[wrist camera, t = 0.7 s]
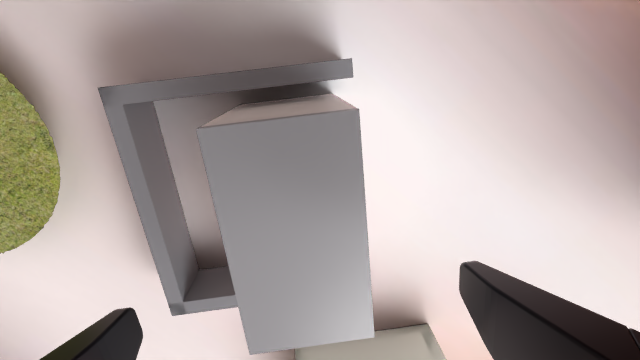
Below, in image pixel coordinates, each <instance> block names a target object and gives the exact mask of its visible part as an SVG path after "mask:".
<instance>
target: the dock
mask: <svg viewBox="0 0 640 360" xmlns="http://www.w3.org/2000/svg"><path fill="white" fill-rule="evenodd" d="M352 77H353V67H352V58H350V59H341V60H333V61H324V62H316V63H307V64H298V65H290V66H281V67H272V68H264V69H255V70H247V71H238V72H229V73H221V74H212V75H203V76H195V77H186V78H178V79H169V80H160V81H152V82H143V83H134V84H126V85H117V86H109V87H100V88H98V90H99V93H100V96H101V99H102V102H103V106H104V109H105V112H106V115H107V118H108V121H109V124H110V127H111V130H112V133H113V136H114V139H115V142H116V145H117V148H118V152H119V155H120V158H121V161H122V164H123V167H124V170H125V173H126V176H127V179H128V182H129V185H130V188H131V191H132V194H133V198H134V201H135V204H136V207H137V210H138V213H139V216H140V219H141V222H142V225H143V228H144V231H145V234H146V237H147V240H148V244H149V247H150V250H151V253H152V256H153V259H154V262H155V265H156V268H157V271H158V274H159V277H160V280H161V283H162V286H163V290H164V293H165V296H166V299H167V302H168V305H169V308H170V311H171V314H172V316H175V315H183V314H190V313H197V312H205V311H212V310H219V309H227V308H234V307H238V303H237V299H236V295H235V291H234V286H233V282H232V278H231V274H230V270H229V266H225V267H217V268H210V269H202V270H199V267H198V264H197V260H196V257H195V253H194V249H193V246H192V242H191V238H190V235H189V231H188V227H187V224H186V220H185V217H184V213H183V209H182V206H181V202H180V198H179V195H178V191H177V187H176V184H175V180H174V177H173V173H172V169H171V166H170V162H169V158H168V155H167V151H166V148H165V144H164V140H163V137H162V133H161V129H160V126H159V122H158V118H157V115H156V111H155V108H154V104H153V101H157V100H165V99H174V98H182V97H191V96H199V95H208V94H216V93H225V92H233V91H242V90H250V89H259V88H267V87H276V86H284V85H293V84H301V83H310V82H318V81H327V80H335V79H344V78H352Z"/></svg>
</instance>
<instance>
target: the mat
mask: <svg viewBox="0 0 640 360" xmlns="http://www.w3.org/2000/svg"><path fill="white" fill-rule="evenodd" d="M57 158H58V156H57V153H56V149H55V147H54V143H53V139H52V137H51V136H49V131H48V129H47V127H46V125H45V124H44V122H43V121H42V120H41V118H40V116H39V113H37V112H36V111H35V108H34V106H33V105H31V104H30V103H29V102H28V101H27V100H26V99H25V96H24V95H23V94H21V93H20V91H19V90H18V89H17V88H15V86H14V84H12V83H10V82H9V81H8V79H7V78H5V75H3V74H1V73H0V253H4V252H5V251H9V250H12V249H15V248H17V247H19V246H20V245H22V244H24V243H25V242H27V241H28V240H30V239H31V238H33V237H34V236H35V235H36V234H37V233H38V232H39V231H40V230H41V229H43V228H44V224H46V223H47V222H48V221H49V218H50V217H51V216H52V215H53V213H52V212H53V211H54V208H55V205H56V203H57V198H58V194H59V193H58V191H59V187H60V166H59V163H58V159H57Z"/></svg>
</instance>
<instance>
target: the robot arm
mask: <svg viewBox="0 0 640 360" xmlns="http://www.w3.org/2000/svg"><path fill="white" fill-rule="evenodd" d="M459 290H460V294H461V297H462V299H463V301H464V303H465V305H466V307H467V309H468V311H469V313H470V315H471V317H472V319H473V321H474V323H475V325H476V327H477V330H478V332H479V334H480V336H481V338H482V340H483V342H484V344H485V345H486V347H487V349H488V351H489V353H490V354H491V356H492V358H493V359H494V360H640V332H638V331H636V330H634V329H631V328H630V329H628V328H627V327H626V326H625V325H622V324H620V323H618V322H615V321H613V320H611V319H609V318H606V317H604V316H602V315H599V314H597V313H595V312H592V311H590V310H588V309H586V308H583V307H581V306H579V305H576V304H574V303H572V302H570V301H567V300H565V299H563V298H560V297H558V296H556V295H553V294H551V293H549V292H547V291H544V290H542V289H540V288H537V287H535V286H533V285H531V284H528V283H526V282H524V281H521V280H519V279H517V278H514V277H512V276H510V275H508V274H505V273H503V272H501V271H498V270H496V269H494V268H492V267H489V266H487V265H485V264H482V263H480V262H478V261H471V262H463V263H462V264H461V265H460V278H459ZM142 339H143V332H142V328H141V326H140V323H139V320H138V318H137V315H136V312H135V310H134V309H133V308H123V309H117V310H114V311H113V312H111V313H109V314H108V315H106V316H105V317H103V318H102V319H100V320H99V321H97V322H96V323H94V324H93V325H91V326H90V327H88V328H87V329H85V330H84V331H82V332H81V333H79V334H78V335H76V336H75V337H73V338H71V339H70V340H68V341H67V342H65V343H64V344H62V345H61V346H59V347H58V348H56V349H55V350H53V351H52V352H50V353H49V354H47V355H46V356H44V357H43V358H41V359H40V360H136V358H137V355H138V352H139V349H140V346H141V343H142Z"/></svg>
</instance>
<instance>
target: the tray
mask: <svg viewBox="0 0 640 360" xmlns="http://www.w3.org/2000/svg"><path fill="white" fill-rule="evenodd" d="M374 334H375V337H374V338H366V339H359V340H352V341H345V342H338V343H331V344H324V345H317V346H310V347H302V348H295V360H447V359H446V357H445V355H444V354H443V352H442V350H441V348H440V346H439V344H438V342H437V340H436V338H435V336H434V334H433V332H432V330H431V329H430V327H429V325H428V324H424V325H417V326H410V327H402V328H395V329H388V330H381V331H374Z"/></svg>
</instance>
